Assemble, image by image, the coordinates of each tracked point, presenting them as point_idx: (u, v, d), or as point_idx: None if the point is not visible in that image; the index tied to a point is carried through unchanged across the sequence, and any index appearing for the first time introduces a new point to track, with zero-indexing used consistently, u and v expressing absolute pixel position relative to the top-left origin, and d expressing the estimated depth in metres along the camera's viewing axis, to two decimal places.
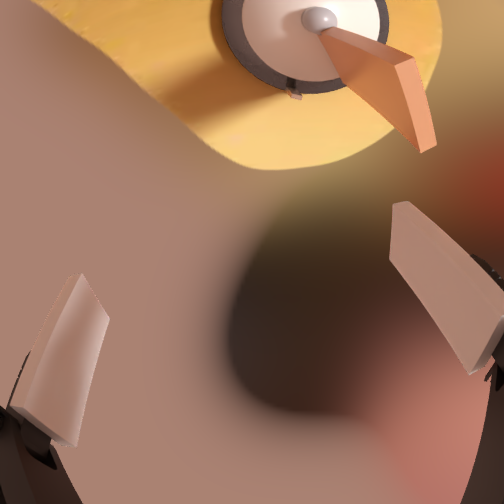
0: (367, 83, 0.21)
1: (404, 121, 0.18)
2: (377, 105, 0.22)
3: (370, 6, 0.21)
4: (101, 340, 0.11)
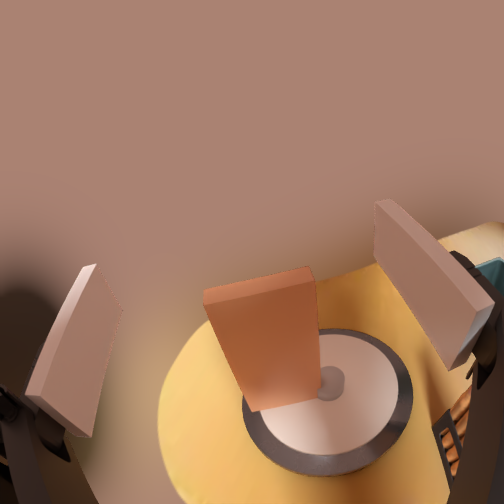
0: None
1: None
2: None
3: (336, 445, 0.23)
4: (114, 330, 0.12)
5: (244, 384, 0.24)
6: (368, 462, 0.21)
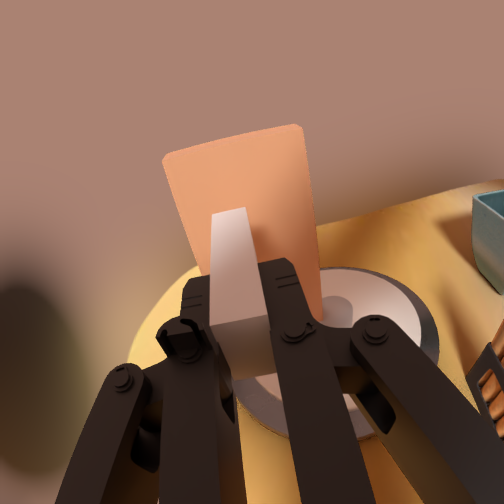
0: None
1: None
2: None
3: (346, 397, 0.18)
4: None
5: None
6: None
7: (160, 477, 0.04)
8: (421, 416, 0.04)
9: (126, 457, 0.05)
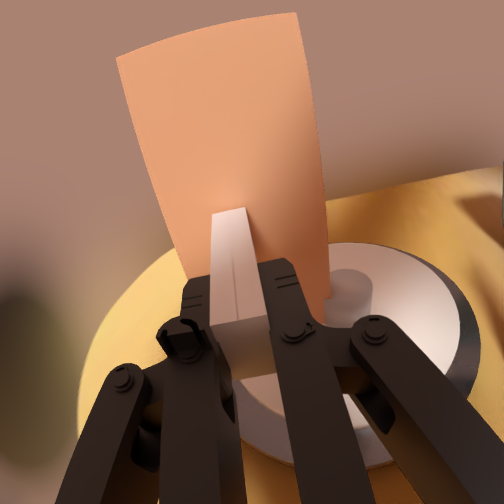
0: None
1: None
2: None
3: (349, 409, 0.12)
4: None
5: (189, 257, 0.15)
6: None
7: (160, 477, 0.04)
8: (421, 416, 0.04)
9: (126, 457, 0.05)
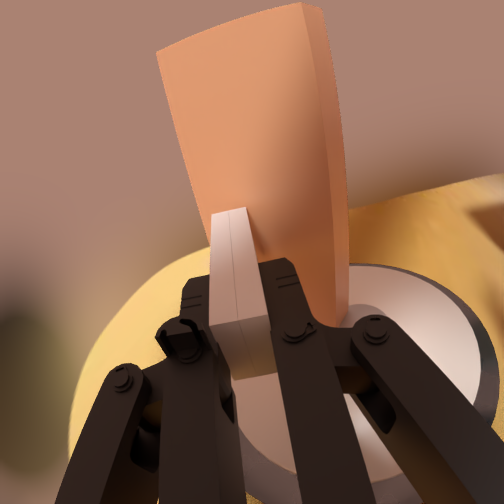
0: None
1: None
2: None
3: (278, 444, 0.12)
4: None
5: None
6: None
7: (160, 477, 0.04)
8: (421, 416, 0.04)
9: (126, 457, 0.05)
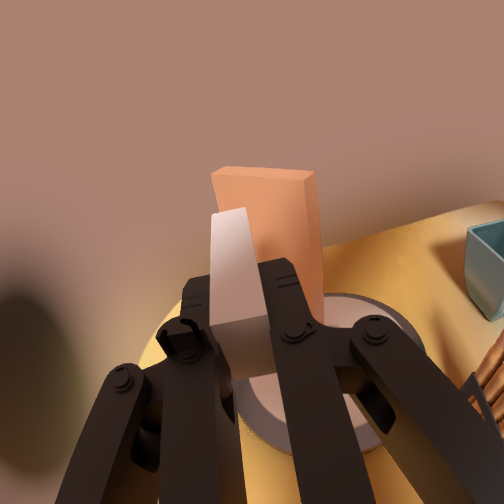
0: None
1: None
2: None
3: (282, 407, 0.21)
4: None
5: None
6: (380, 441, 0.18)
7: (160, 477, 0.04)
8: (421, 416, 0.04)
9: (126, 457, 0.05)
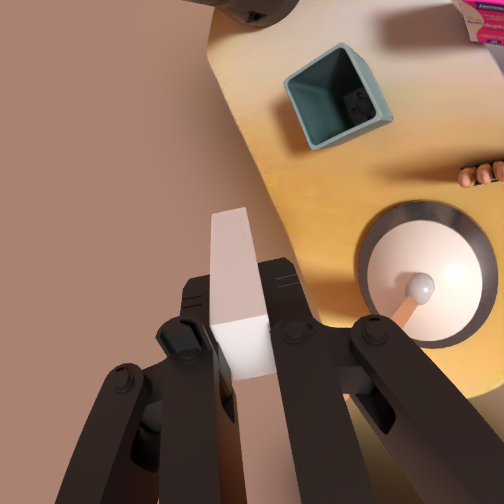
0: None
1: None
2: None
3: (461, 321, 0.27)
4: None
5: None
6: (492, 253, 0.24)
7: (160, 477, 0.04)
8: (421, 416, 0.04)
9: (126, 457, 0.05)
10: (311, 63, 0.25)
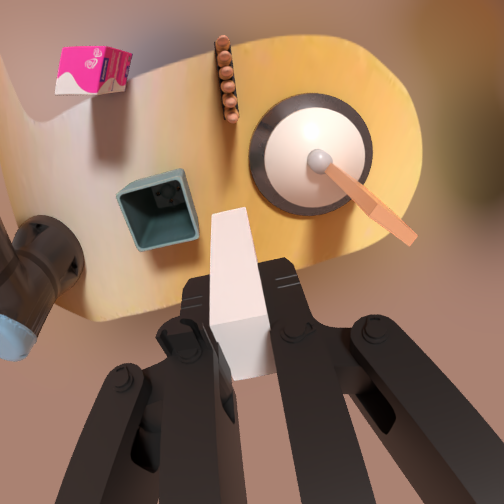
0: None
1: None
2: None
3: (347, 125, 0.38)
4: None
5: (376, 197, 0.38)
6: (293, 97, 0.36)
7: (160, 477, 0.04)
8: (421, 416, 0.04)
9: (126, 457, 0.05)
10: (128, 224, 0.36)
